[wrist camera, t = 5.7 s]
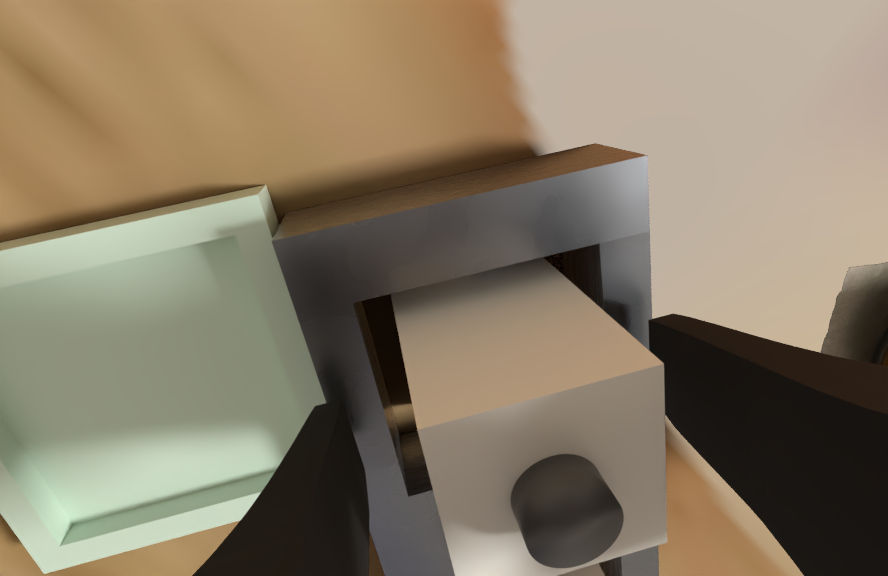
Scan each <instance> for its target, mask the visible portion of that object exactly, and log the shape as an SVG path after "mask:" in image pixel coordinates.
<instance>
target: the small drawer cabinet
mask: <svg viewBox="0 0 888 576" xmlns="http://www.w3.org/2000/svg"><path fill="white" fill-rule="evenodd" d="M648 191H649V190H648V156H647V155H644V154H639V153H635V152H630V151H626V150H622V149H617V148H613V147H608V146H604V145H600V144H591V145H587V146H582V147H577V148H573V149H569V150H564V151H560V152H555V153H551V154H546V155H542V156H537V157H533V158H528V159H524V160H519V161H515V162H510V163H506V164H501V165H497V166H492V167H488V168H484V169H479V170H475V171H470V172H466V173H461V174H457V175H452V176H448V177H443V178H439V179H434V180H430V181H425V182H421V183H417V184H412V185H408V186H403V187H399V188H394V189H390V190H385V191H381V192H376V193H372V194H367V195H363V196H358V197H354V198H349V199H345V200H341V201H336V202H332V203H327V204H323V205H318V206H314V207H309V208H305V209H300V210H296V211H291V212H287V213H286V214H285V216H284V218H283V220H282V222H281V224H280V226H279V228H278V230H277V231H276V233H275V235H274V237H273V239H272V244H273V247H274V250H275V253H276V256H277V259H278V262H279V265H280V268H281V271H282V274H283V277H284V280H285V282H286V285H287V288H288V291H289V294H290V297H291V300H292V303H293V306H294V309H295V312H296V315H297V318H298V321H299V324H300V327H301V330H302V333H303V336H304V339H305V341H306V344H307V347H308V350H309V353H310V356H311V359H312V362H313V365H314V368H315V371H316V374H317V377H318V380H319V383H320V386H321V389H322V392H323V395H324V397H325V400H326V403H329V402H333V401H337V400H340V399H342V400H343V403H344V406H345V409H346V413H347V416H348V419H349V422H350V425H351V428H352V431H353V434H354V437H355V440H356V444H357V447H358V450H359V453H360V456H361V459H362V462H363V465H364V468H365V473H366V483H367V492H368V502H369V512H370V515H369V530H370V533H371V536H372V539H373V542H374V545H375V548H376V551H377V554H378V557H379V560H380V563H381V566H382V569H383V571H384V574H385V576H455V573H454V569H453V566H452V562H451V558H450V554H449V550H448V546H447V542H446V539H445V535H444V531H443V527H442V523H441V519H440V516H439V512H438V508H437V504H436V500H435V496H434V492H433V489H432V485H431V481H430V477H429V473H428V469H427V465H426V462H425V458H424V454H423V450H422V446H421V442H420V438H419V435H418V431H415V432H411V433H407V434H404V435H399V431H398V428H397V424H396V420H395V417H394V413H393V410H392V406H391V402H390V399H389V395H388V392H387V388H386V384H385V381H384V377H383V374H382V370H381V366H380V363H379V359H378V356H377V352H376V348H375V345H374V341H373V338H372V334H371V331H370V327H369V323H368V320H367V316H366V313H365V309H364V305H363V302H362V301H363V300H367V299H371V298H375V297H380V296H384V295H388V294H392V293H396V292H400V291H404V290H408V289H413V288H417V287H421V286H425V285H429V284H433V283H437V282H442V281H446V280H450V279H454V278H458V277H462V276H466V275H471V274H475V273H479V272H483V271H487V270H491V269H495V268H499V267H504V266H508V265H512V264H516V263H520V262H524V261H528V260H533V259H537V258H541V257H545V256H549V255H553V254H557V253H561V257H562V267H563V275H564V276H565V277H566V278H567V279H568V280H569V281H571V282H572V283H573V284H574V285H575V286H576V287H577V288H579V289H580V290H581V291H582V292H583V293H584V294H585V295H586V296H588V297H589V298H590V299H591V300H592V301H593V302H594V303H596V304H597V305H598V306H599V307H600V308H601V309H602V310H604V311H605V312H606V313H607V314H608V315H609V316H610V317H611V318H613V319H614V320H615V321H616V322H617V323H618V324H619V325H621V326H622V327H623V328H624V329H625V330H626V331H627V332H629V333H630V334H631V335H632V336H633V337H634V338H635V339H637V340H638V341H639V342H640V343H641V344H642V345H643V346H644V347H646V348H647V349H648V350H649V325H648V320H651V319H652V303H651V265H650V228H649V192H648ZM599 565H600V567H601V569H602V571H603V573H604V575H605V576H659V560H658V545H657V546H653V547H650V548H647V549H643V550H640V551H637V552H633V553H630V554H627V555H623V556H620V557H617V558H613V559H610V560H607V561H604V562H600V563H599Z"/></svg>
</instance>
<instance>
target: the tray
mask: <svg viewBox="0 0 888 576" xmlns="http://www.w3.org/2000/svg"><path fill="white" fill-rule="evenodd" d="M278 228H279V223H278V220H277V217H276V213H275V210H274V207H273V204H272V201H271V198H270V195H269V192H268V189H267V186H266V185H262V186H258V187H253V188H249V189H244V190H240V191H235V192H230V193H226V194H221V195H217V196H212V197H207V198H203V199H198V200H194V201H189V202H185V203H180V204H175V205H171V206H166V207H162V208H157V209H152V210H148V211H143V212H139V213H134V214H130V215H125V216H120V217H116V218H111V219H107V220H102V221H97V222H93V223H88V224H84V225H79V226H75V227H70V228H65V229H61V230H56V231H52V232H47V233H42V234H38V235H33V236H29V237H24V238H20V239H15V240H10V241H6V242H1V243H0V514H1V515H2V516H3V518H4V519H5V521H6V522H7V523H8V525H9V526H10V527H11V529H12V530H13V532H14V533H15V534H16V536H17V537H18V538H19V540H20V541H21V543H22V544H23V545H24V547H25V548H26V549H27V551H28V552H29V554H30V555H31V556H32V558H33V559H34V560H35V562H36V563H37V565H38V566H39V567H40V569H41V570H42V572H43V573H44V574H46V573H49V572H53V571H57V570H60V569H64V568H68V567H71V566H75V565H79V564H82V563H86V562H90V561H93V560H97V559H101V558H104V557H108V556H111V555H115V554H119V553H122V552H126V551H130V550H133V549H137V548H141V547H144V546H148V545H152V544H155V543H159V542H163V541H166V540H170V539H174V538H177V537H181V536H185V535H188V534H192V533H195V532H199V531H203V530H206V529H210V528H214V527H217V526H221V525H225V524H228V523H232V522H236V521H239V520H241V519H242V518H243V517H244V515H245V514H246V513H247V511H248V510H249V509H250V507H251V506H252V505H253V503H254V502H255V500H256V499H257V497H258V496H259V495H260V493H261V492H262V490H263V489H264V487H265V486H266V485H267V483H268V482H269V480H270V479H271V477H272V476H273V474H274V473H275V471H276V469H277V468H278V466H279V465H280V463H281V461H282V460H283V458H284V457H285V455H286V453H287V452H288V450H289V449H290V447H291V445H292V443H293V442H294V440H295V438H296V437H297V435H298V433H299V432H300V430H301V428H302V426H303V425H304V423H305V421H306V419H307V418H308V416H309V414H310V413H311V411H312V410H313V408H314V407H315V406H317V405H321V404H325V403H326V400H325V397H324V395H323V392H322V389H321V386H320V383H319V380H318V377H317V374H316V371H315V368H314V365H313V362H312V359H311V356H310V353H309V350H308V347H307V344H306V341H305V339H304V336H303V333H302V330H301V327H300V324H299V321H298V318H297V315H296V312H295V309H294V306H293V303H292V300H291V297H290V294H289V291H288V288H287V285H286V282H285V280H284V277H283V274H282V271H281V268H280V265H279V262H278V259H277V256H276V253H275V250H274V247H273V244H272V239H273V237H274V235H275V233H276V231H277V230H278Z"/></svg>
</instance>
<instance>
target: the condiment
mask: <svg viewBox="0 0 888 576" xmlns="http://www.w3.org/2000/svg"><path fill="white" fill-rule="evenodd" d="M821 353H823V354H828V355H832V356H837V357H841V358H846V359H851V360H857V361H862V362H868V363H873V364H879V365H884V366H888V262H886V263H881V264H875V265H864V266H857V267H849V269H848V271H847V274H846V277H845V280H844V283H843V287H842V291H841V292H840V293H839V294H838V296H837V298H836V305H835V308H834V310H833V313H832V317H831V319H830V324H829V329H828V333H827V335H826V337H825V339H824V342H823V346H822V350H821Z"/></svg>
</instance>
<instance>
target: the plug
mask: <svg viewBox="0 0 888 576" xmlns="http://www.w3.org/2000/svg"><path fill="white" fill-rule="evenodd" d="M391 299H392V304H393V309H394V314H395V320H396V325H397V330H398V335H399V340H400V345H401V350H402V355H403V360H404V365H405V370H406V375H407V380H408V385H409V390H410V396H411V401H412V406H413V411H414V416H415V421H416V426H417V431H418V435H419V438H420V442H421V446H422V450H423V454H424V458H425V462H426V465H427V469H428V473H429V477H430V481H431V485H432V489H433V492H434V496H435V500H436V504H437V508H438V512H439V516H440V519H441V523H442V527H443V531H444V535H445V539H446V542H447V546H448V550H449V554H450V558H451V562H452V566H453V569H454V573H455V576H557V575H560V574H564V573H567V572H570V571H574V570H577V569H580V568H584V567H587V566H590V565H594V564H597V563H600V562H604V561H607V560H610V559H613V558H617V557H620V556H623V555H627V554H630V553H633V552H637V551H640V550H643V549H647V548H650V547H653V546H657V545H660V544H663V543H667V510H666V450H665V390H664V363H663V362H662V361H660V360H659V359H658V358H657V357H656V356H655V355H654V354H652V353H651V352H650V351H649V350H648V349H647V348H646V347H644V346H643V345H642V344H641V343H640V342H639V341H638V340H637V339H635V338H634V337H633V336H632V335H631V334H630V333H629V332H627V331H626V330H625V329H624V328H623V327H622V326H621V325H619V324H618V323H617V322H616V321H615V320H614V319H613V318H611V317H610V316H609V315H608V314H607V313H606V312H605V311H604V310H602V309H601V308H600V307H599V306H598V305H597V304H596V303H594V302H593V301H592V300H591V299H590V298H589V297H588V296H586V295H585V294H584V293H583V292H582V291H581V290H580V289H579V288H577V287H576V286H575V285H574V284H573V283H572V282H571V281H569V280H568V279H567V278H566V277H565V276H564V275H563V274H561V273H560V272H559V271H558V270H557V269H556V268H555V267H554V266H552V265H551V264H550V263H549V262H548V261H547V260H546V259H544V258H543V257H541V258H537V259H533V260H528V261H524V262H520V263H516V264H512V265H508V266H504V267H499V268H495V269H491V270H487V271H483V272H479V273H475V274H471V275H466V276H462V277H458V278H454V279H450V280H446V281H442V282H437V283H433V284H429V285H425V286H421V287H417V288H413V289H408V290H404V291H400V292H396V293H392V294H391Z"/></svg>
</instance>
